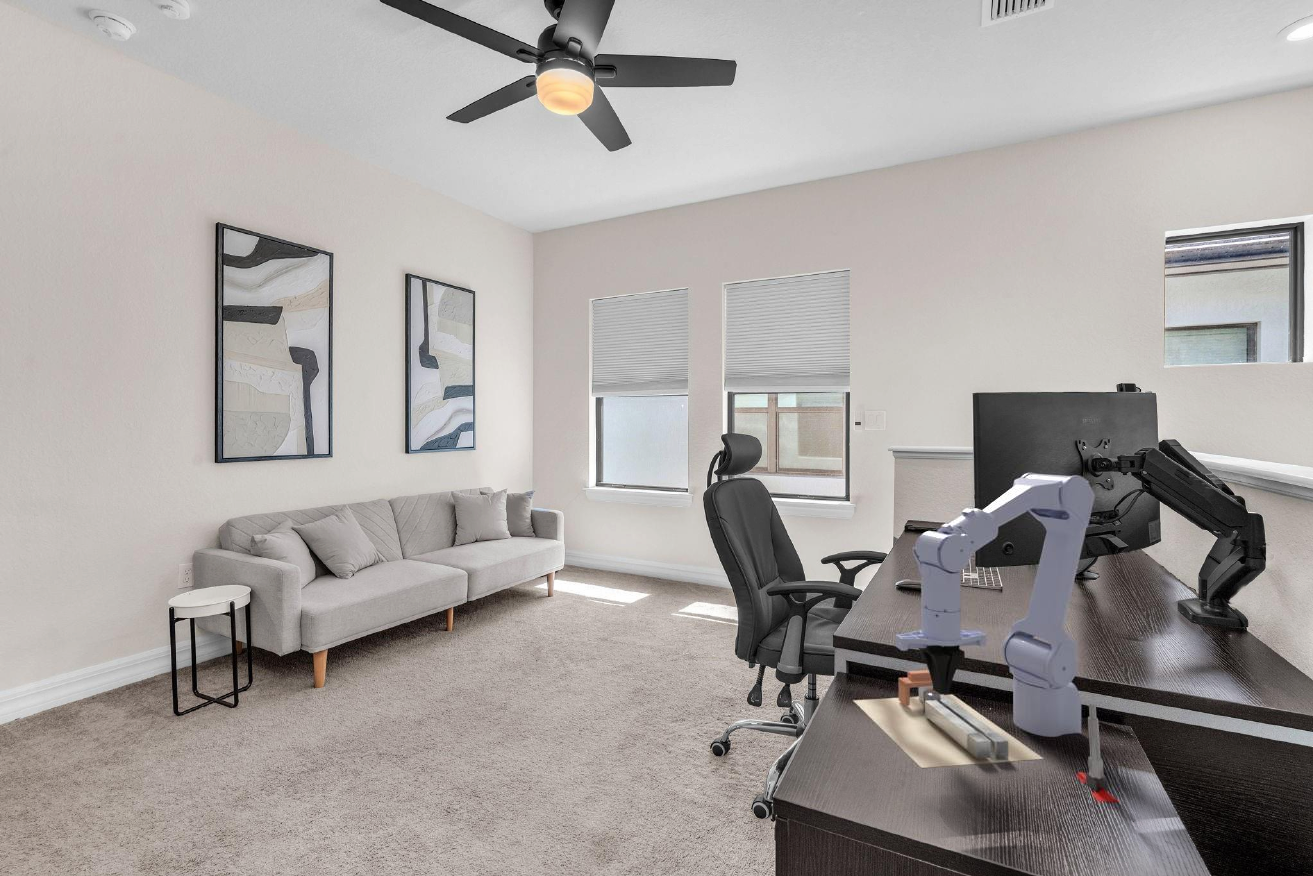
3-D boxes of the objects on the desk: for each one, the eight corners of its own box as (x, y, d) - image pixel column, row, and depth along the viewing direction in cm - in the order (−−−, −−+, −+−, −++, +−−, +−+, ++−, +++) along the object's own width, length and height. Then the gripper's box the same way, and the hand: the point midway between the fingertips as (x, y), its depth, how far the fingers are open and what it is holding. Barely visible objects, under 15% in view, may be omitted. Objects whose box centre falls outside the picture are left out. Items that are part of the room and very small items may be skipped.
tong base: (928, 698, 111) (928, 681, 111) (1008, 759, 90) (1008, 738, 90) (909, 699, 110) (909, 682, 110) (984, 761, 89) (984, 740, 89)
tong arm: (936, 714, 103) (936, 700, 103) (990, 758, 89) (990, 741, 89) (925, 715, 103) (925, 700, 103) (977, 759, 89) (977, 741, 89)
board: (952, 699, 112) (952, 694, 112) (1043, 765, 90) (1043, 758, 90) (853, 705, 110) (853, 700, 110) (921, 774, 87) (921, 767, 87)
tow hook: (1054, 815, 79) (1125, 814, 78) (1048, 719, 79) (1120, 717, 78) (1018, 779, 87) (1083, 778, 87) (1013, 692, 87) (1078, 690, 87)
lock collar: (936, 697, 110) (936, 669, 110) (944, 703, 108) (944, 674, 108) (898, 700, 109) (898, 671, 109) (905, 705, 107) (905, 676, 107)
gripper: (966, 598, 99) (966, 678, 99) (885, 602, 97) (885, 683, 97) (995, 611, 92) (995, 697, 92) (909, 614, 90) (909, 702, 90)
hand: (940, 691), depth 94 cm, fingers closed
